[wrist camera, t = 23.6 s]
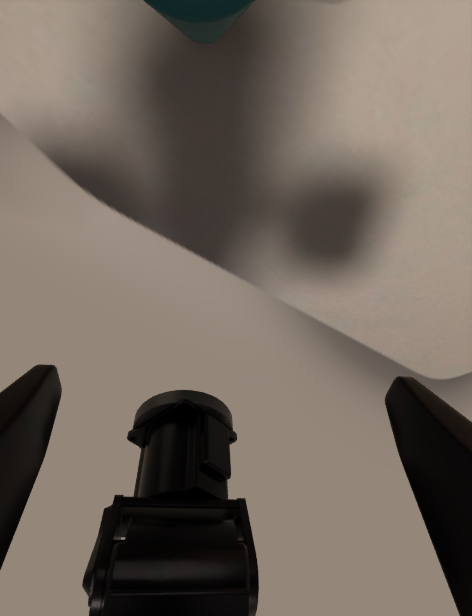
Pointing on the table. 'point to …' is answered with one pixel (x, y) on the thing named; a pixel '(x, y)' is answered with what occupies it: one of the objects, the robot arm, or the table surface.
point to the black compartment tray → (201, 16)
